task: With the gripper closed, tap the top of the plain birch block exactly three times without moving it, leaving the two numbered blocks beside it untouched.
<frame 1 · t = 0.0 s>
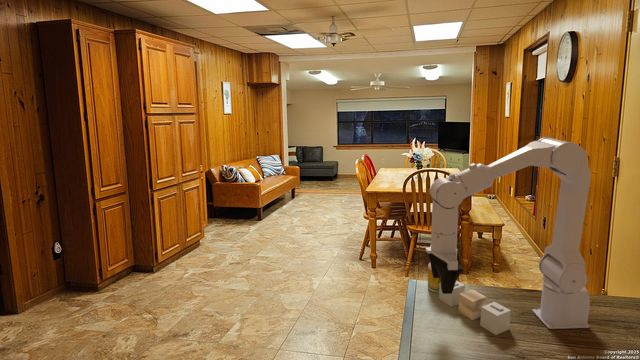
hand: (442, 284, 96), 10 cm above the table, tool pointing down, fingers open, 7 cm apart
marked block 7: (451, 300, 108), on the table
plain block: (471, 313, 102), on the table
marked block 1: (494, 327, 96), on the table
supplement bottle: (437, 289, 115), on the table
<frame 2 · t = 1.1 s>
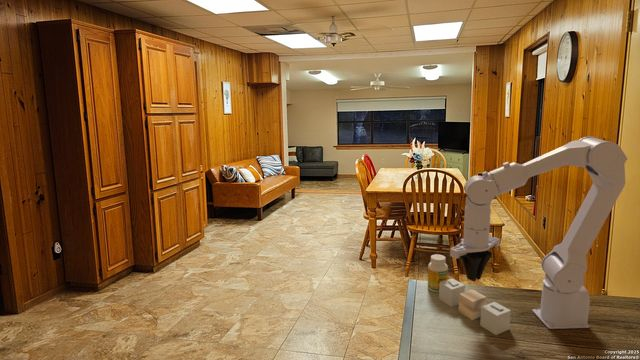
hand: (473, 278, 100), 9 cm above the table, tool pointing down, fingers closed
nothing on the table moved.
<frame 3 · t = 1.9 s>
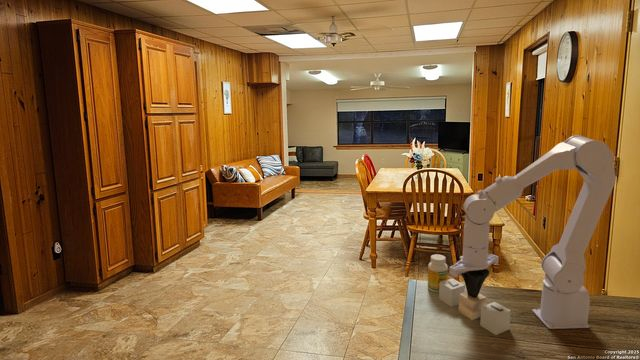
hand: (472, 295, 101), 5 cm above the table, tool pointing down, fingers closed, pressing on plain block
plain block: (471, 313, 102), on the table, touching gripper
everything else where it was.
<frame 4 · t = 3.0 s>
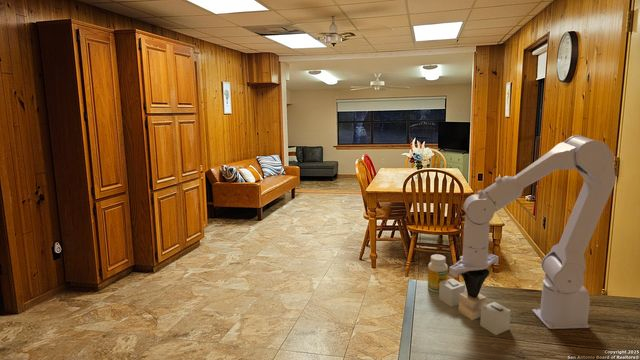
hand: (472, 295, 101), 5 cm above the table, tool pointing down, fingers closed, pressing on plain block
plain block: (471, 313, 102), on the table, touching gripper
everything else where it was.
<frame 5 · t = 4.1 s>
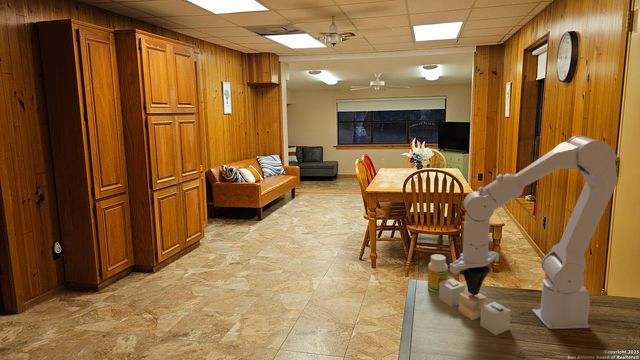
hand: (473, 293, 101), 6 cm above the table, tool pointing down, fingers closed
plain block: (471, 313, 102), on the table
everything else where it was.
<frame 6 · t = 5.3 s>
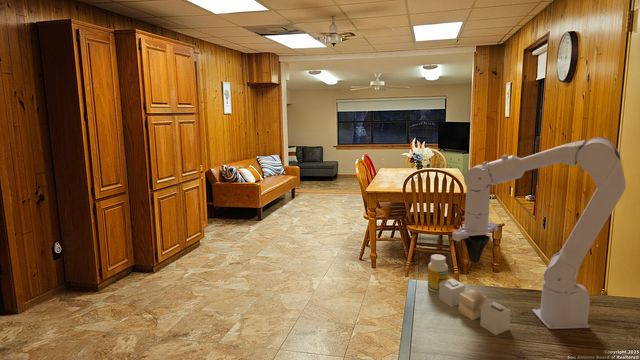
hand: (474, 260, 108), 10 cm above the table, tool pointing down, fingers closed
nothing on the table moved.
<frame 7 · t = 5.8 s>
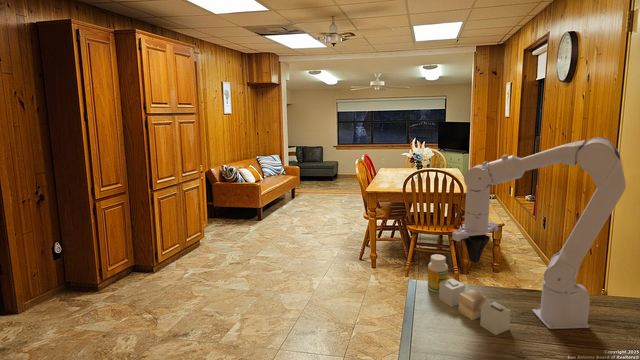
hand: (474, 260, 108), 10 cm above the table, tool pointing down, fingers closed
nothing on the table moved.
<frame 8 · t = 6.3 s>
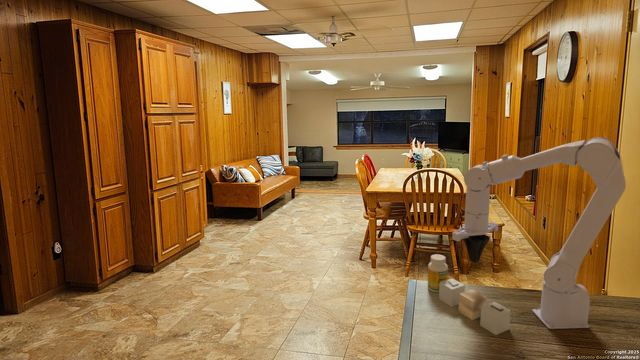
hand: (474, 260, 108), 10 cm above the table, tool pointing down, fingers closed
nothing on the table moved.
at the end: plain block moved 0.1 cm from its start; marked block 1 moved 0.1 cm from its start; marked block 7 moved 0.1 cm from its start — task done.
